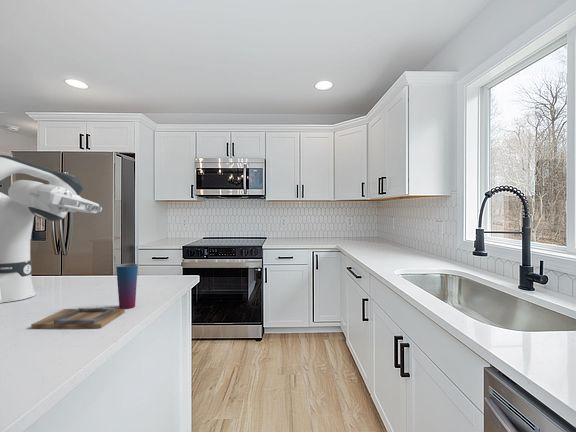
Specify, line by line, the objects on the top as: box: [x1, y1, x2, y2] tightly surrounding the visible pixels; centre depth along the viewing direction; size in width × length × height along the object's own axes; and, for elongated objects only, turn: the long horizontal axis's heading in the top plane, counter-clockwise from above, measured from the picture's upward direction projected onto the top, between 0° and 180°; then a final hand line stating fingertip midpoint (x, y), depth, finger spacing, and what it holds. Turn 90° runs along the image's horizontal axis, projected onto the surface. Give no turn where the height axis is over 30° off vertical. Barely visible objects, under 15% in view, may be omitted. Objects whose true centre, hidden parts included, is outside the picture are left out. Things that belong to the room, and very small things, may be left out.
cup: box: [115, 263, 139, 310], centre depth 111 cm, size 7×7×15 cm
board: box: [30, 307, 126, 329], centre depth 98 cm, size 20×14×2 cm
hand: (89, 207), depth 104 cm, fingers open, 8 cm apart
